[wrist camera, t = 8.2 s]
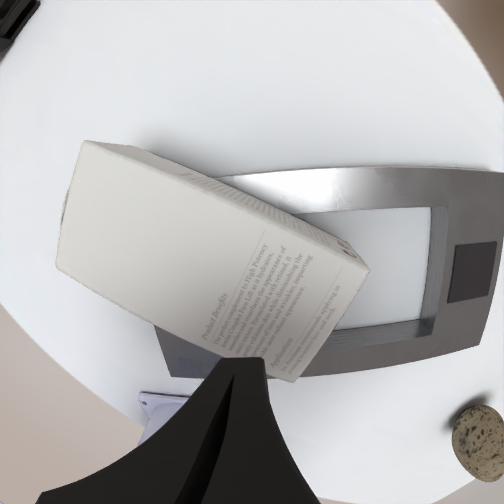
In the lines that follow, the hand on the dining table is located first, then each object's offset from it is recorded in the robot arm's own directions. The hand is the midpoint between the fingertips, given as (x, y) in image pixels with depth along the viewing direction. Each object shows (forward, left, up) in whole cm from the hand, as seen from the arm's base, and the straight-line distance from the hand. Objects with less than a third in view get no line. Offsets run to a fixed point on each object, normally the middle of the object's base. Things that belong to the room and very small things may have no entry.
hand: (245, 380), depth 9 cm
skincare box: (0, -3, -4) cm, 5 cm away
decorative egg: (-18, -20, -9) cm, 29 cm away
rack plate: (0, -4, -8) cm, 10 cm away
